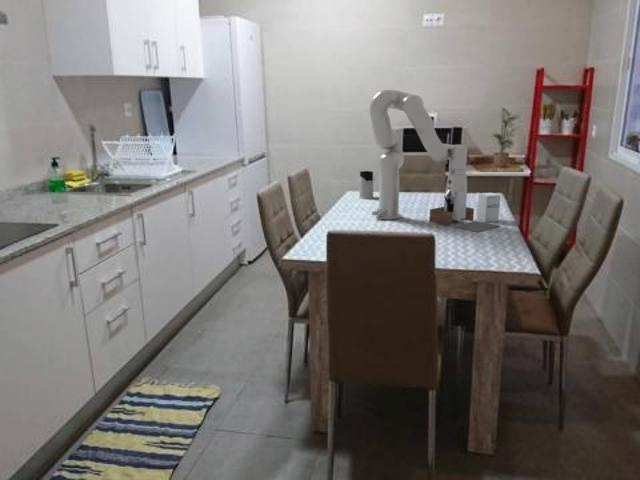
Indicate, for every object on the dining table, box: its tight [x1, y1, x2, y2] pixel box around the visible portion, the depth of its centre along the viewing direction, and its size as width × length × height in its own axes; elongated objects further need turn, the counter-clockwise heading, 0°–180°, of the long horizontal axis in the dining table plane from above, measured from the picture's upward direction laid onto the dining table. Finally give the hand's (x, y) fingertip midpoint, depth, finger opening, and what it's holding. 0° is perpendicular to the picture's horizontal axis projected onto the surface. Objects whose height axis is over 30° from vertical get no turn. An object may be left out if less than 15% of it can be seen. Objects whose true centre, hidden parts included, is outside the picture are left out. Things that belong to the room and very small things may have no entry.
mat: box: [454, 220, 500, 233], centre depth 237 cm, size 16×12×1 cm
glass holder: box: [358, 170, 379, 200], centre depth 307 cm, size 9×14×15 cm, turn 118°
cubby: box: [429, 206, 475, 227], centre depth 248 cm, size 17×12×6 cm
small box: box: [443, 189, 468, 221], centre depth 245 cm, size 8×6×13 cm
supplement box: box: [476, 192, 501, 223], centre depth 249 cm, size 7×7×13 cm
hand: (454, 210), depth 246 cm, fingers closed on small box, 6 cm apart
